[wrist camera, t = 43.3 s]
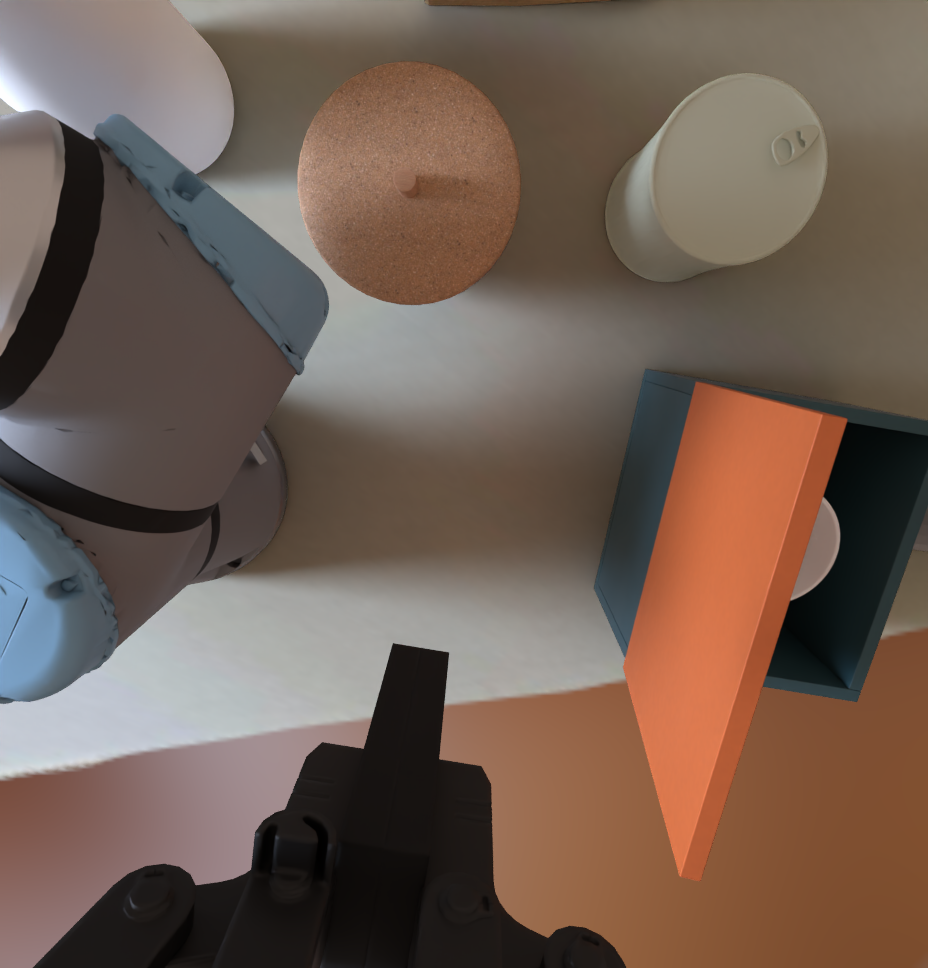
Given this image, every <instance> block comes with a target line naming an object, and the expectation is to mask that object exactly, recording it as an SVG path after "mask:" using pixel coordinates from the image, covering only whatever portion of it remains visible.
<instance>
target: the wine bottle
mask: <svg viewBox="0 0 928 968" xmlns="http://www.w3.org/2000/svg"><path fill="white" fill-rule="evenodd" d="M0 98H2V99H3V100H4V101H5V102H6V103H7V104H9V105H10V106H11V107H12V108H14V109H15V110H17V111H18V112H25V111H31V110H40V111H44V112H46V113H47V114H49V115H51V116H53V117H54V118H56V119H58V120H59V121H61V122H63V123H64V124H66V125H68V126H69V127H71V128H73V129H74V130H76V131H78V132H79V133H81V134H83V135H84V136H86V137H88V138H89V139H93V140H94V139H95V136H94V134H93V133H94V130H95V127H96V125H97V124H98V123H104V122H105V120H106V119H107V118H108V117H109V116H111V115H113V114H120V115H123V116H125V117H126V118H128V119H129V120H130V121H131V122H133V123H134V124H135V125H136V126H137V127H139V128H140V129H141V130H142V131H144V132H145V133H146V134H147V135H148V136H150V137H151V138H152V139H153V140H155V141H156V142H157V143H158V144H159V145H161V146H162V147H163V148H164V149H165V150H167V151H168V152H169V153H170V154H171V155H173V156H174V157H175V158H176V159H177V160H178V161H180V162H181V163H182V164H183V165H185V166H186V167H187V168H188V169H189V170H191V171H192V172H193V173H194V174H197V173H200V172H201V171H203V170H204V169H206V168H207V167H209V166H210V165H211V164H212V163H213V162H214V161H215V160H216V159H217V158H218V157H219V155H220V154H221V153H222V151H223V150H224V148H225V146H226V144H227V142H228V140H229V138H230V134H231V130H232V127H233V119H234V99H233V94H232V89H231V85H230V82H229V79H228V76H227V74H226V71H225V68H224V66H223V65H222V63H221V61H220V59H219V58H218V56H217V54H216V53H215V52H214V51H213V49H212V48H211V47H210V46H209V44H208V43H207V42H206V41H205V40H204V39H203V38H202V36H201V35H200V34H199V33H198V32H197V31H196V30H195V29H194V28H193V27H192V25H191V24H190V23H189V22H188V21H187V20H186V19H185V18H184V17H183V15H182V14H181V13H180V12H179V11H178V10H177V9H176V8H175V7H174V6H173V4H172V3H171V2H170V1H169V0H0Z"/></svg>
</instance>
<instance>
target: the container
mask: <svg viewBox="0 0 928 968" xmlns="http://www.w3.org/2000/svg"><path fill="white" fill-rule="evenodd" d="M696 382H703V383H709V384H713V385H717V386H721V387H725V388H729V389H733V390H737V391H741V392H745V393H749V394H753V395H757V396H761V397H765V398H769V399H772V400H776V401H780V402H784V403H788V404H792V405H796V406H800V407H804V408H808V409H812V410H816V411H820V412H824V413H828V414H832V415H836V416H840V417H844V418H847V419H848V420H847V423H846V427H845V430H844V433H843V436H842V439H841V442H840V445H839V449H838V452H837V455H836V458H835V461H834V464H833V467H832V471H831V474H830V477H829V480H828V483H827V486H826V489H825V492H824V496H823V497H824V498H825V499H826V500H827V501H828V502H829V504H830V505H831V507H832V508H833V510H834V512H835V514H836V516H837V519H838V522H839V527H840V545H839V550H838V554H837V557H836V559H835V562H834V564H833V566H832V568H831V569H830V571H829V572H828V574H827V575H826V576H825V577H824V579H823V580H822V581H821V582H820V583H819V584H818V585H817V586H816V587H814V588H813V589H812V590H810V591H809V592H807V593H806V594H804V595H802V596H800V597H798V598H796V599H794V600H791V601H790V602H789V605H788V609H787V612H786V615H785V618H784V621H783V624H782V627H781V631H780V634H779V637H778V640H777V643H776V646H775V649H774V653H773V656H772V659H771V662H770V665H769V668H768V671H767V674H766V678H765V681H764V684H763V687H768V688H774V689H780V690H787V691H793V692H799V693H805V694H811V695H817V696H823V697H829V698H835V699H842V700H848V701H854V702H857V701H858V698H859V695H860V693H861V690H862V687H863V684H864V681H865V679H866V676H867V673H868V670H869V667H870V665H871V662H872V660H873V657H874V654H875V651H876V649H877V646H878V643H879V640H880V637H881V635H882V632H883V629H884V626H885V624H886V621H887V618H888V615H889V613H890V610H891V607H892V604H893V602H894V599H895V596H896V593H897V591H898V588H899V585H900V582H901V580H902V577H903V574H904V571H905V569H906V566H907V563H908V560H909V557H910V555H911V552H912V549H913V546H914V544H915V541H916V538H917V535H918V533H919V530H920V527H921V524H922V522H923V519H924V516H925V513H926V511H927V508H928V420H924V419H920V418H915V417H910V416H905V415H900V414H895V413H890V412H885V411H880V410H875V409H870V408H865V407H860V406H855V405H850V404H845V403H840V402H834V401H829V400H823V399H817V398H811V397H805V396H799V395H794V394H788V393H782V392H776V391H770V390H765V389H759V388H753V387H747V386H741V385H736V384H730V383H724V382H718V381H712V380H707V379H701V378H695V377H689V376H683V375H678V374H672V373H666V372H660V371H654V370H648V369H645V372H644V377H643V381H642V385H641V389H640V394H639V398H638V402H637V406H636V411H635V415H634V419H633V423H632V428H631V432H630V436H629V441H628V445H627V449H626V453H625V458H624V462H623V466H622V470H621V475H620V479H619V483H618V487H617V492H616V496H615V500H614V504H613V509H612V513H611V517H610V522H609V526H608V530H607V534H606V539H605V543H604V547H603V551H602V556H601V560H600V564H599V568H598V573H597V577H596V581H595V585H594V589H595V592H596V594H597V596H598V599H599V601H600V603H601V605H602V608H603V610H604V612H605V614H606V617H607V619H608V621H609V623H610V625H611V628H612V630H613V632H614V634H615V637H616V639H617V641H618V643H619V646H620V648H621V650H622V652H623V655H624V657H625V658H626V654H627V650H628V646H629V642H630V638H631V634H632V630H633V626H634V622H635V618H636V615H637V611H638V607H639V603H640V599H641V595H642V591H643V587H644V583H645V579H646V575H647V571H648V568H649V564H650V560H651V556H652V552H653V548H654V544H655V540H656V536H657V532H658V528H659V524H660V521H661V517H662V513H663V509H664V505H665V501H666V497H667V493H668V489H669V485H670V481H671V477H672V474H673V470H674V466H675V462H676V458H677V454H678V450H679V446H680V442H681V438H682V434H683V430H684V427H685V423H686V419H687V415H688V411H689V407H690V403H691V399H692V395H693V391H694V387H695V383H696Z"/></svg>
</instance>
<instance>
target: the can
mask: <svg viewBox="0 0 928 968" xmlns="http://www.w3.org/2000/svg"><path fill="white" fill-rule="evenodd" d="M827 168H828V149H827V142H826V137H825V133H824V129H823V126H822V124H821V121H820V119H819V117H818V115H817V113H816V112H815V110H814V109H813V107H812V105H811V104H810V103H809V102H808V100H807V99H806V98H805V97H804V96H803V95H802V94H801V93H800V92H799V91H798V90H796V89H795V88H794V87H792V86H791V85H789V84H787V83H786V82H784V81H782V80H779V79H777V78H774V77H771V76H768V75H763V74H755V73H740V74H734V75H729V76H725V77H721V78H719V79H716V80H713V81H711V82H709V83H707V84H705V85H703V86H702V87H700V88H698V89H697V90H695V91H694V92H693V93H692V94H690V95H689V96H688V97H687V98H685V99H684V100H683V101H682V102H681V103H680V104H679V105H678V106H677V107H676V109H675V110H674V111H673V112H672V113H671V115H670V116H669V118H668V119H667V120H666V122H665V124H664V125H663V126H662V127H661V129H660V130H659V131H658V132H657V133H656V134H655V135H654V137H653V138H652V139H651V140H650V141H649V142H648V143H647V144H646V145H645V147H644V148H643V149H642V150H640V151H639V152H637V153H636V154H635V155H633V156H632V157H631V158H630V159H629V160H628V161H627V162H626V163H625V164H624V166H623V167H622V168H621V169H620V171H619V172H618V174H617V175H616V177H615V179H614V181H613V183H612V185H611V188H610V191H609V194H608V197H607V202H606V208H605V224H606V231H607V235H608V239H609V242H610V244H611V246H612V248H613V250H614V252H615V254H616V255H617V257H618V258H619V259H620V261H621V262H622V263H623V264H624V265H625V266H626V267H627V268H628V269H630V270H631V271H632V272H634V273H635V274H637V275H639V276H641V277H643V278H646V279H649V280H653V281H658V282H677V281H681V280H685V279H689V278H691V277H694V276H696V275H698V274H700V273H702V272H706V271H710V270H714V269H718V268H722V267H726V266H734V265H743V264H748V263H751V262H755V261H758V260H760V259H763V258H765V257H767V256H769V255H771V254H773V253H775V252H776V251H778V250H779V249H781V248H782V247H784V246H785V245H786V244H787V243H789V242H790V241H791V240H792V239H793V238H794V237H795V236H796V235H797V234H798V233H799V232H800V231H801V230H802V228H803V227H804V226H805V225H806V223H807V222H808V220H809V219H810V217H811V216H812V214H813V212H814V210H815V209H816V207H817V205H818V202H819V200H820V198H821V195H822V192H823V189H824V185H825V181H826V176H827Z"/></svg>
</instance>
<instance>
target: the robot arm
mask: <svg viewBox="0 0 928 968" xmlns="http://www.w3.org/2000/svg"><path fill="white" fill-rule="evenodd" d="M93 134H94V136H95V139H94V140H93V139H89V138H88V137H86V136H84V135H83V134H81V133H79V132H78V131H76V130H74V129H73V128H71V127H69V126H68V125H66V124H64V123H63V122H61V121H59V120H58V119H56V118H54V117H53V116H51V115H49V114H47V113H46V112H44V111H40V110H31V111H25V112H19V113H13V114H7V115H1V116H0V704H6V703H11V702H13V701H24V702H31V701H35V700H39V699H42V698H45V697H48V696H51V695H53V694H55V693H57V692H59V691H61V690H63V689H64V688H66V687H68V686H69V685H70V684H72V683H73V682H74V681H76V680H77V679H78V678H80V677H81V676H82V675H84V674H86V673H89V672H90V671H92V670H95V669H97V668H99V667H100V666H101V665H102V664H103V662H105V661H107V660H108V659H109V657H110V656H111V655H112V653H113V652H114V650H115V649H116V648H117V647H118V646H119V645H120V644H121V643H122V642H123V641H125V640H126V639H127V638H128V637H129V636H130V635H131V634H132V633H134V632H135V631H136V630H137V629H138V628H139V627H140V626H142V625H143V624H144V623H145V622H146V621H147V620H148V619H149V618H151V617H152V616H153V615H154V614H155V613H156V612H157V611H159V610H160V609H161V608H162V607H163V606H164V605H165V604H166V603H168V602H169V601H170V600H171V599H172V598H173V597H174V596H175V595H177V594H178V593H179V592H180V591H181V590H182V589H183V588H185V587H186V586H187V585H190V584H195V583H200V582H205V581H210V580H214V579H217V578H220V577H223V576H226V575H228V574H230V573H232V572H234V571H236V570H238V569H240V568H241V567H243V566H245V565H246V564H248V563H249V562H250V561H251V560H253V559H254V558H255V557H256V556H257V555H258V554H259V553H260V552H261V551H262V550H263V549H264V548H265V547H266V546H267V544H268V543H269V542H270V541H271V540H272V538H273V536H274V535H275V533H276V532H277V530H278V528H279V526H280V524H281V521H282V518H283V516H284V512H285V508H286V502H287V490H288V489H287V476H286V470H285V466H284V462H283V459H282V456H281V453H280V451H279V449H278V447H277V444H276V442H275V441H274V439H273V437H272V436H271V434H270V433H269V431H268V430H267V428H266V427H265V424H266V423H267V421H268V419H269V418H270V416H271V414H272V413H273V411H274V409H275V407H276V406H277V404H278V402H279V401H280V399H281V397H282V396H283V394H284V392H285V391H286V389H287V387H288V386H289V384H290V382H291V381H292V379H293V377H294V376H295V374H297V375H301V374H302V372H303V370H304V360H305V358H306V356H307V354H308V352H309V350H310V349H311V347H312V345H313V343H314V341H315V339H316V338H317V336H318V334H319V332H320V330H321V328H322V326H323V325H324V323H325V320H326V318H327V314H328V310H329V300H328V295H327V291H326V288H325V286H324V284H323V282H322V281H321V279H320V278H319V277H318V276H317V275H316V274H315V273H314V272H313V271H312V270H311V269H310V268H308V267H307V266H306V265H305V264H304V263H302V262H301V261H300V260H299V259H298V258H296V257H295V256H294V255H293V254H292V253H290V252H289V251H288V250H287V249H286V248H284V247H283V246H282V245H281V244H279V243H278V242H277V241H276V240H275V239H273V238H272V237H271V236H270V235H269V234H267V233H266V232H265V231H264V230H263V229H261V228H260V227H259V226H258V225H256V224H255V223H254V222H253V221H251V220H250V219H249V218H248V217H247V216H245V215H244V214H243V213H242V212H240V211H239V210H238V209H237V208H236V207H234V206H233V205H232V204H231V203H229V202H228V201H227V200H226V199H225V198H223V197H222V196H221V195H220V194H218V193H217V192H216V191H215V190H214V189H212V188H211V187H210V186H209V185H207V184H206V183H205V182H204V181H203V180H201V179H200V178H199V177H198V176H197V175H196V174H194V173H193V172H192V171H191V170H189V169H188V168H187V167H186V166H185V165H183V164H182V163H181V162H180V161H178V160H177V159H176V158H175V157H174V156H173V155H171V154H170V153H169V152H168V151H167V150H165V149H164V148H163V147H162V146H161V145H159V144H158V143H157V142H156V141H155V140H153V139H152V138H151V137H150V136H148V135H147V134H146V133H145V132H144V131H142V130H141V129H140V128H139V127H137V126H136V125H135V124H134V123H133V122H131V121H130V120H129V119H128V118H126V117H125V116H123V115H120V114H113V115H111V116H109V117H108V118H107V119H106V120H105V122H104V123H98V124H97V125H96V127H95V130H94V133H93ZM448 659H449V652H443V651H436V650H430V649H424V648H418V647H412V646H406V645H400V644H394V643H393V645H392V649H391V652H390V656H389V660H388V663H387V667H386V670H385V674H384V678H383V681H382V685H381V689H380V692H379V696H378V699H377V703H376V707H375V710H374V714H373V717H372V721H371V725H370V728H369V732H368V736H367V740H366V743H365V746H364V749H361V748H355V747H348V746H341V745H335V744H330V743H324V742H322V743H321V744H320V745H319V746H318V747H317V748H315V750H313V751H312V752H311V753H310V754H309V755H308V756H307V757H306V759H305V762H304V764H303V767H302V769H301V772H300V774H299V778H298V779H297V781H296V784H295V786H294V789H293V793H292V794H291V796H290V799H289V801H288V804H287V806H286V809H285V810H282V811H279V812H276V813H274V814H273V815H271V816H270V817H268V818H267V819H265V820H264V821H263V822H262V823H261V825H260V826H259V828H258V829H257V830H256V832H255V839H254V849H253V859H252V868H251V870H250V871H248V872H247V873H246V874H244V875H241V876H239V877H237V878H234V879H231V880H227V881H223V882H218V883H210V884H203V885H195V883H194V881H193V879H192V877H191V875H190V874H189V873H187V872H186V871H185V870H183V869H182V868H180V867H177V866H172V865H167V864H159V865H151V866H145V867H143V868H141V869H138V870H136V871H134V872H131V873H129V874H127V875H126V876H125V877H124V878H122V879H121V880H120V881H118V882H117V883H116V884H115V885H113V887H111V888H110V889H109V890H108V891H107V893H106V894H105V895H104V896H103V897H102V898H101V899H100V900H99V901H98V902H97V903H96V904H95V905H94V906H93V907H92V908H91V909H90V910H89V911H88V912H87V913H86V914H85V915H84V916H83V917H82V918H81V919H80V920H79V921H78V922H77V923H76V924H75V925H74V926H73V927H72V928H71V929H70V930H69V931H68V932H67V933H66V934H65V935H64V936H63V937H62V938H61V940H59V941H58V943H57V944H56V945H55V946H54V947H53V948H52V949H51V950H50V951H49V952H48V953H47V954H46V955H45V956H44V957H43V958H42V959H41V960H40V961H39V962H38V963H37V964H36V965H35V966H34V967H33V968H626V966H625V964H624V962H623V960H622V959H621V957H620V956H619V954H618V953H617V951H616V949H615V948H614V947H613V946H612V945H611V944H610V943H609V942H608V941H607V940H605V939H604V938H603V937H602V936H601V935H599V934H597V933H595V932H593V931H591V930H589V929H587V928H583V927H575V926H568V927H565V928H561V929H558V930H556V931H555V932H554V933H553V934H552V935H551V936H550V937H549V938H547V937H545V936H542V935H540V934H538V933H536V932H534V931H532V930H530V929H528V928H526V927H525V926H523V925H522V924H520V923H518V922H517V921H516V920H514V919H513V918H512V917H511V916H510V915H509V914H508V913H507V912H506V911H505V909H504V908H503V907H502V905H501V904H500V902H499V900H498V898H497V895H496V893H495V888H494V882H493V842H492V808H491V804H492V802H491V783H490V782H489V780H488V778H487V776H486V774H485V772H484V770H483V768H482V767H481V766H477V765H470V764H464V763H458V762H452V761H446V760H440V759H439V754H440V743H441V733H442V722H443V711H444V701H445V690H446V680H447V669H448Z"/></svg>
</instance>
